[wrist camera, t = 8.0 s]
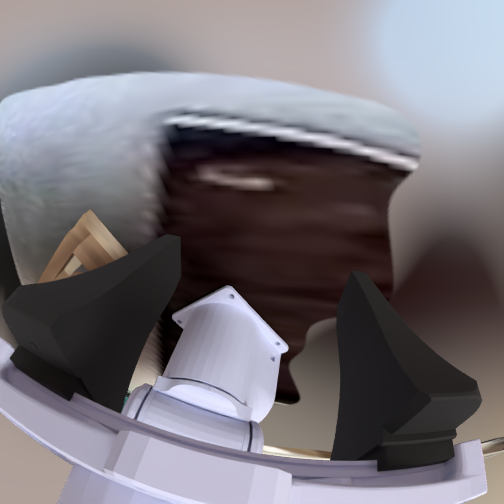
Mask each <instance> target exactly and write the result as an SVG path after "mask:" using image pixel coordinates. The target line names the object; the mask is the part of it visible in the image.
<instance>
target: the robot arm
mask: <svg viewBox="0 0 504 504" xmlns="http://www.w3.org/2000/svg"><path fill="white" fill-rule="evenodd" d="M180 277H181V246H180V237H179V236H174V235H169V234H167V235H164V236H162V237H160V238H158V239H156V240H154V241H152V242H150V243H148V244H147V245H145V246H143V247H141V248H139V249H137V250H135V251H133V252H131V253H129V254H127V255H125V256H123V257H121V258H119V259H117V260H115V261H113V262H111V263H108V264H106V265H104V266H101V267H98V268H96V269H93V270H91V271H88V272H84V273H81V274H78V275H75V276H71V277H68V278H64V279H60V280H55V281H50V282H45V283H38V284H30V285H21V286H19V287H18V288H17V290H16V291H15V292H14V293H13V294H12V295H11V296H10V297H9V298H8V299H7V300H6V301H5V302H4V303H3V305H2V313H3V317H4V319H5V321H6V323H7V325H8V327H9V329H10V330H11V332H12V334H13V335H14V337H15V339H16V340H17V342H18V344H19V346H18V347H17V349H16V350H15V349H14V348H13V347H12V346H11V345H10V344H9V343H8V342H6V341H5V340H4V339H2V338H1V337H0V412H1V413H2V414H3V415H4V416H5V417H7V418H8V419H9V420H10V421H11V422H12V423H14V424H15V425H16V426H17V427H19V428H20V429H21V430H22V431H24V432H25V433H26V434H28V435H29V436H30V437H31V438H33V439H34V440H35V441H37V442H38V443H40V444H41V445H43V446H44V447H45V448H47V449H48V450H50V451H51V452H53V453H54V454H56V455H57V456H59V457H60V458H62V459H63V460H65V461H67V462H68V463H70V464H72V465H73V467H72V470H71V472H70V474H69V476H68V479H67V481H66V483H65V486H64V488H63V490H62V493H61V495H60V498H59V500H58V502H57V504H462V503H464V502H467V501H469V500H472V499H474V498H476V497H478V496H480V495H483V494H485V493H486V492H487V481H486V473H485V466H484V459H483V453H482V447H481V442H480V439H475V440H471V441H467V442H462V443H459V444H456V445H454V446H453V441H452V439H454V438H455V437H456V435H457V434H456V428H457V427H458V426H459V425H460V424H462V423H463V422H464V421H465V420H467V419H468V418H469V417H470V416H472V415H473V414H474V413H475V412H476V411H477V409H478V408H479V406H480V404H481V402H482V399H481V395H480V392H479V388H478V385H477V382H476V380H474V379H472V378H471V377H469V376H468V375H466V374H464V373H463V372H461V371H460V370H458V369H456V368H455V367H454V366H452V365H451V364H450V363H448V362H447V361H445V360H444V359H443V358H442V357H440V356H439V355H438V354H436V353H435V352H434V351H433V350H432V349H431V348H430V347H429V346H427V345H426V344H425V343H424V342H423V341H422V340H421V339H420V338H419V337H418V336H417V335H416V334H415V333H414V332H413V331H412V330H411V329H410V328H409V327H408V326H407V324H406V323H405V322H404V321H403V320H402V319H401V317H400V316H399V315H398V314H397V313H396V312H395V310H394V309H393V308H392V307H391V305H390V304H389V303H388V301H387V300H386V299H385V298H384V296H383V295H382V294H381V292H380V291H379V290H378V288H377V287H376V286H375V284H374V283H373V282H372V280H371V279H370V278H369V277H368V276H367V274H366V273H362V272H357V271H351V274H350V276H349V279H348V282H347V284H346V287H345V289H344V292H343V294H342V297H341V299H340V301H339V304H338V306H337V327H336V328H337V339H338V350H339V361H340V375H341V376H340V380H341V381H340V400H339V409H338V419H337V426H336V433H335V439H334V445H333V450H332V454H331V459H330V460H312V459H299V458H289V457H281V456H273V455H266V454H262V452H263V444H264V437H263V432H262V430H261V429H260V426H259V424H258V423H259V422H260V421H261V420H263V418H265V416H266V415H267V414H268V412H269V411H270V409H271V407H272V405H273V403H274V399H275V393H276V386H277V379H278V371H279V364H280V356H281V353H284V352H286V351H288V345H287V344H286V343H285V342H284V341H283V340H282V339H281V338H280V337H279V336H278V335H277V334H276V333H275V332H274V331H273V330H272V329H271V328H270V327H269V326H268V324H267V323H266V322H265V321H264V320H263V319H262V318H261V317H260V316H259V315H258V314H257V313H256V312H255V311H254V310H253V309H252V308H251V307H250V305H249V304H248V303H247V302H246V301H245V300H244V299H243V298H242V297H241V296H240V295H239V294H238V293H237V292H236V290H235V289H234V288H233V287H231V286H224V287H222V288H221V289H219V290H217V291H215V292H213V293H211V294H209V295H207V296H206V297H204V298H202V299H200V300H198V301H196V302H194V303H192V304H190V305H189V306H187V307H185V308H183V309H181V310H179V311H177V312H175V313H174V314H173V315H172V319H173V320H174V321H175V322H176V323H177V324H178V325H179V326H181V327H182V328H183V329H184V330H183V332H182V334H181V337H180V339H179V341H178V343H177V345H176V347H175V350H174V352H173V354H172V356H171V358H170V361H169V363H168V365H167V367H166V370H165V372H164V374H163V376H162V377H161V376H158V377H157V379H156V382H155V384H154V386H152V385H149V384H146V383H145V384H143V385H142V386H139V387H137V388H135V389H134V390H133V392H132V393H131V395H130V396H129V398H128V400H127V402H126V404H125V406H124V408H123V404H124V401H125V397H126V394H127V391H128V387H129V384H130V381H131V378H132V375H133V373H134V370H135V367H136V365H137V362H138V359H139V357H140V354H141V352H142V350H143V347H144V345H145V343H146V340H147V338H148V336H149V334H150V333H151V331H152V329H153V327H154V326H155V324H156V322H157V321H158V319H159V317H160V316H161V314H162V312H163V311H164V309H165V307H166V306H167V304H168V302H169V301H170V299H171V297H172V295H173V294H174V291H175V289H176V287H177V284H178V282H179V280H180ZM230 294H233V295H234V296H231V295H230ZM278 342H279V343H278ZM122 408H123V410H122ZM121 412H122V413H121Z"/></svg>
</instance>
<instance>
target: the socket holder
mask: <svg viewBox="0 0 504 504" xmlns="http://www.w3.org/2000/svg"><path fill="white" fill-rule="evenodd" d="M127 254H129V253H128V252H127V251H126V250H125V249H124V248H123V247H122V246H121V244H120V243H119V242H118V241H117V240H116V239H115V238H114V236H113V235H112V234H111V233H110V232H109V231H108V230H107V228H106V227H105V226H104V225H103V224H102V222H101V221H100V220H99V219H98V218H97V216H96V215H95V214H94V213H93V212H92V210H91V209H90V210H89V211H87V212H86V213H85V214H83V215H82V217H81V218H80V219H79V221H78V222H77V224H76V225H75V226H74V228H73V229H72V230H70V231H69V232H68V233H67V235H66V236H65V238H64V239H63V241H62V242H61V244H60V245H59V247H58V249H57V250H56V252H55V253H54V255H53V257H52V258H51V260H50V262H49V263H48V265H47V267H46V268H45V270H44V272H43V274H42V275H41V277H40V279H39V281H38V283H45V282H50V281H55V280H60V279H64V278H68V277H70V275H71V274H72V273H73V272H74V271H75V270H76V269H77V268H78V267H79V266H80V265H81V264H83V265H84V267H85V268H86V269H87V270H88V271H91V270H93V269H96V268H98V267H101V266H104V265H106V264H108V263H111V262H113V261H115V260H117V259H119V258H121V257H123V256H125V255H127ZM38 283H37V284H38Z"/></svg>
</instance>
